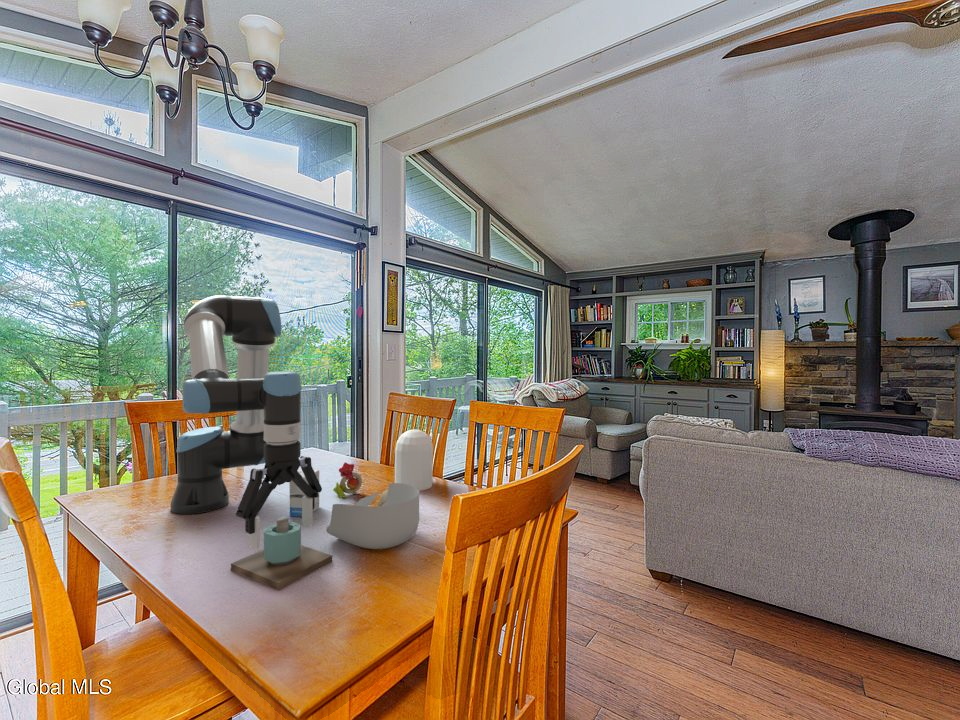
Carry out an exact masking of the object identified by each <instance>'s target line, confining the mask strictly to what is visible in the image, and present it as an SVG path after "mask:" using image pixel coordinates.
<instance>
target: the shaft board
mask: <svg viewBox="0 0 960 720" xmlns="http://www.w3.org/2000/svg"><path fill="white" fill-rule="evenodd" d="M288 522H289V517H280V518H277V519H276V524H277V533H280V532H287V531H288ZM332 562H333V555H332V554H329V553H326V552H323V551H320V550H317V549H314V548H311V547H308V546H305V545H303V544H301V551H300V555H299V556H298V557H296V558H294V559H292V560H290V561H288V562H279V563H271V562H268V561H266V560H264V549H262V550H259V551H257V552H255V553H252V554H249V555H248V556H246V557H243V558H240V559H237V560H236V561H234V562H231V563H230V571H232V572H234V573H236V574H238V575H241V576H244V577H246V578H249V579H251V580H252V581H255V582H258V583H260V584H261V585H264V586H267V587H270V588H272V589H275V590H277V591H280V590H282V589H284V588H286V587H288V586H290V585H292V584H293V583H295V582H297V581H299V580H300V579H303V578H304V577H307V576H308V575H310V574H312V573H314V572H316V571H317V570H320V569H321V568H323V567H325V566H327V565H329V564H331V563H332Z"/></svg>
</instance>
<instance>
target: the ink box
mask: <svg viewBox="0 0 960 720" xmlns="http://www.w3.org/2000/svg"><path fill="white" fill-rule="evenodd" d="M313 470H314V472H315V474H316V477H317V479H318V481H319V482H320V469H314V468H313ZM298 472H299V473H300V475H301V476H302V478H303V479H304V480H305V481H306V482H307V480H306V477H305V475H304V473H303V471H302V469H301V470H299V471H298ZM307 484H308V482H307ZM288 485H289V516H290V517H301V518H302V497H303V496H306V495H305V494H304V493H303V492H302V491H301V490H300V488H299V487H298V486H297V485H296V484H295V483H294V482H293V481H292V480H291V482H288ZM308 485H309V484H308ZM314 505H315V507H314V509H313V512H314V511H316V510H318V509H319V508H320V492H318V497H316V498H315V504H314Z"/></svg>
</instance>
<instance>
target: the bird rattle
mask: <svg viewBox="0 0 960 720" xmlns="http://www.w3.org/2000/svg"><path fill="white" fill-rule="evenodd" d="M354 470H355V464H354V463H348V462H344V463H343V465H342V467H340V468H338V472H339V473H340V477H341V479H340V481H339V482H338V481H337V482H336V484H335V487H334V488H333V490H332V491H333V492H334V493H336V495H337V496H338V498H340V499H342V498H343V497H344V498H345V499H347V494H349V495H351V494H353V495H356V494H357V492H358V491H359V490H360V489H361V487H362V484H363V480H362V476H361V474H359V473H358V472H355V471H354Z"/></svg>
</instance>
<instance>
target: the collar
mask: <svg viewBox="0 0 960 720" xmlns="http://www.w3.org/2000/svg"><path fill="white" fill-rule="evenodd" d="M301 526H302V523H301V524H300V523H297V522H294V521H288V531H287V532H280V533H277V523H275V524H271V525H270V526H266V527H265V530H264V531H263V550H264V560H266V561H268V562H271V563H279V562H288V561H290V560H292V559H294V558H296V557H298V556H299V555H300V551H301V545H302V537H301V535H302V530H301V529H302V527H301Z"/></svg>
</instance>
